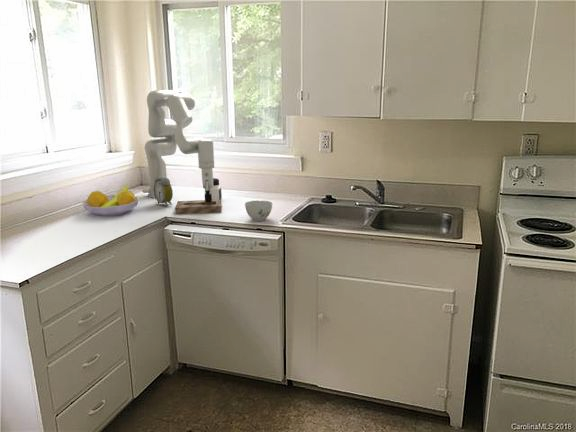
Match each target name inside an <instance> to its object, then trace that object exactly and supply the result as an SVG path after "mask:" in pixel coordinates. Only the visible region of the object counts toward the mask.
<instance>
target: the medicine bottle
mask: <svg viewBox="0 0 576 432" xmlns="http://www.w3.org/2000/svg"><path fill="white" fill-rule="evenodd" d="M211 195H212V200H221V201H222V199H223V198H222V197H223V196H222V195H223V194H222V186H220V180H219V178H215V177H213V188H211Z"/></svg>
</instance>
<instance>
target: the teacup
mask: <svg viewBox="0 0 576 432" xmlns="http://www.w3.org/2000/svg"><path fill="white" fill-rule="evenodd" d="M244 208H245V210H246V213H247V215H248V216H249V218H250V219H251V220H252V221H254V222H264V221H266V219H267V218H268V217H269V216H270V214H271V212H272V208H273V202H272V201H269V200H250V201H246V202H245V203H244Z"/></svg>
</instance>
